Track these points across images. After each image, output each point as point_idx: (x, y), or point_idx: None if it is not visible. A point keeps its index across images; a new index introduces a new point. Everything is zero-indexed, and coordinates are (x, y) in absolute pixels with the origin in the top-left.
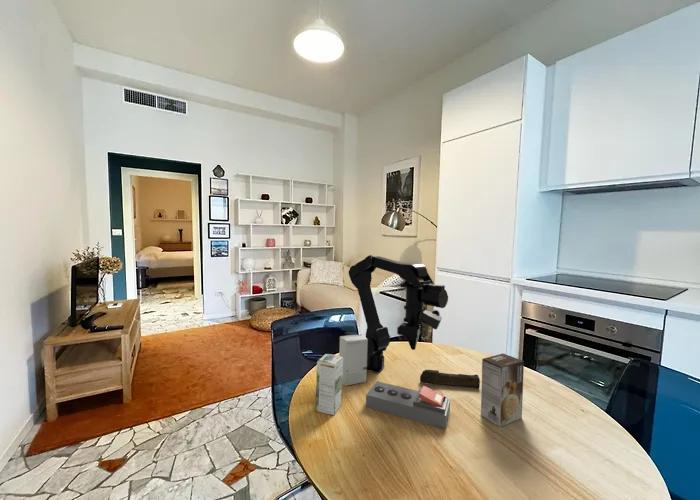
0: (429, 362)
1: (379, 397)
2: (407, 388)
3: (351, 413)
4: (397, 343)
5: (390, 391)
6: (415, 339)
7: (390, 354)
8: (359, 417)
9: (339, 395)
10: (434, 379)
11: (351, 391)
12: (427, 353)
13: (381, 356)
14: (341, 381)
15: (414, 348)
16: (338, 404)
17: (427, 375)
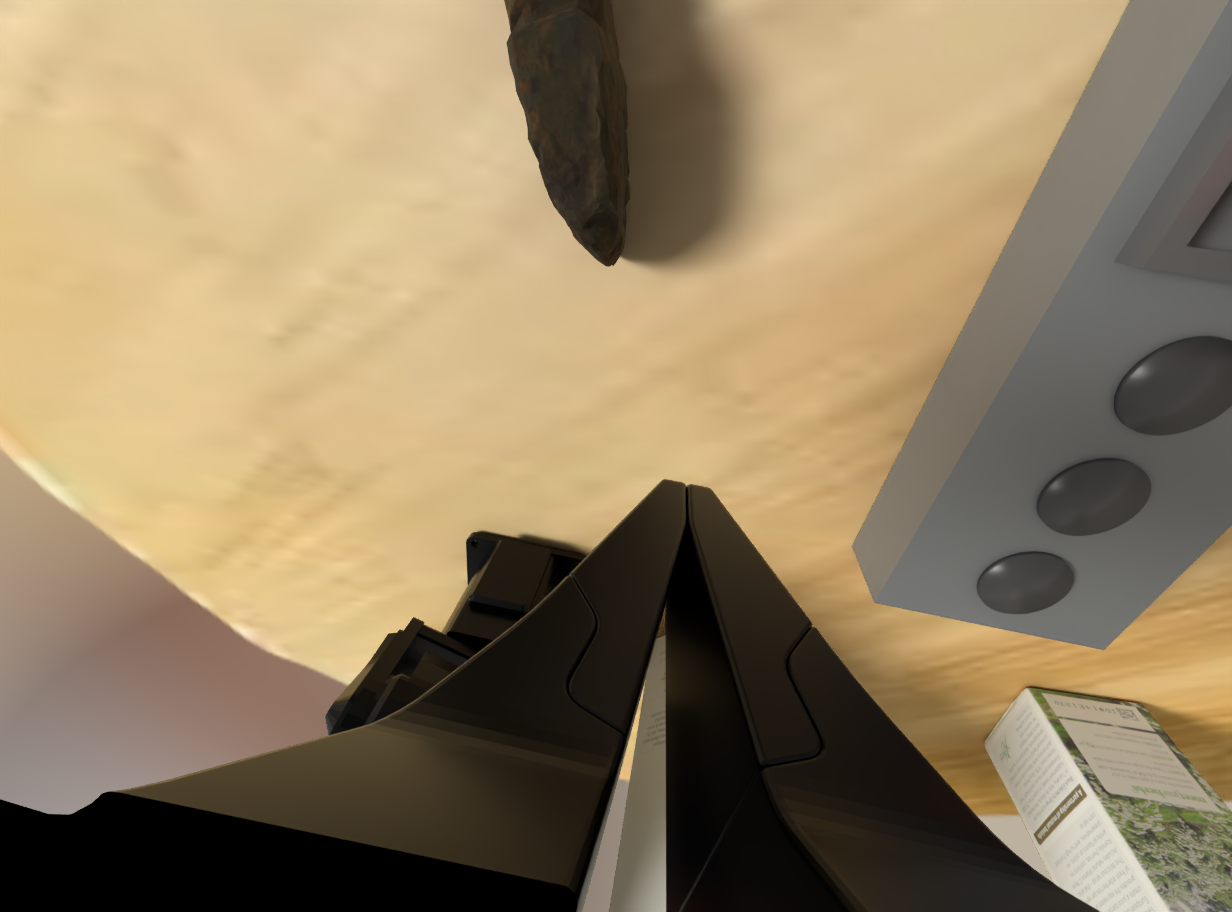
0: (180, 187)
1: (1167, 577)
2: (1005, 382)
3: (1125, 639)
4: (56, 474)
5: (1079, 515)
6: (848, 702)
7: (268, 506)
8: (1181, 604)
9: (1123, 767)
10: (619, 96)
11: (862, 657)
12: (12, 220)
13: (501, 618)
14: (1149, 851)
15: (718, 508)
16: (1101, 720)
17: (621, 187)
